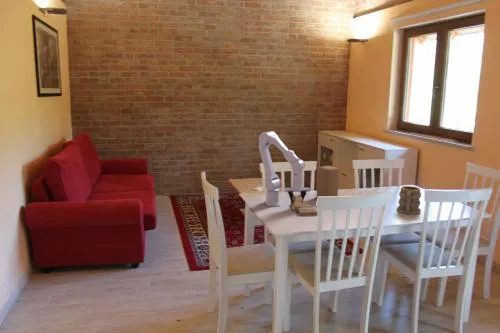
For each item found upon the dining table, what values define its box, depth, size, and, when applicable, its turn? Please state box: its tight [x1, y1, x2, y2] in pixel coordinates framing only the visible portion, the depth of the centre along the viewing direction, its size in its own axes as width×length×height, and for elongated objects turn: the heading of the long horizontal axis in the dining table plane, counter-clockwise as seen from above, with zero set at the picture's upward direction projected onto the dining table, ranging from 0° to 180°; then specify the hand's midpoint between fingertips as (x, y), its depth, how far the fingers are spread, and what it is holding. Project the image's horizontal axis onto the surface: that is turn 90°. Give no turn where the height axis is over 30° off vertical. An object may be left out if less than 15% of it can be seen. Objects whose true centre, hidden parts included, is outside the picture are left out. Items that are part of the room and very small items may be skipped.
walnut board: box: [294, 200, 318, 217], centre depth 260 cm, size 22×10×2 cm, turn 8°
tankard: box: [396, 185, 422, 216], centre depth 256 cm, size 20×13×15 cm, turn 152°
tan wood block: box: [290, 194, 302, 211], centre depth 260 cm, size 5×5×8 cm
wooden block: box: [316, 165, 340, 198], centre depth 284 cm, size 10×10×20 cm
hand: (296, 203), depth 260 cm, fingers closed on tan wood block, 5 cm apart
